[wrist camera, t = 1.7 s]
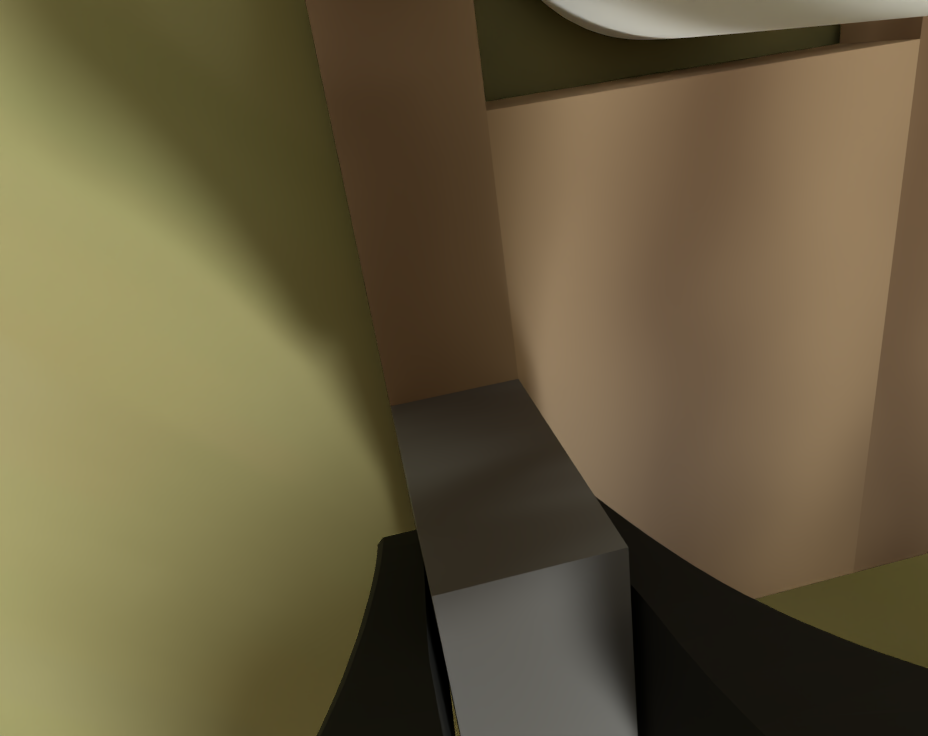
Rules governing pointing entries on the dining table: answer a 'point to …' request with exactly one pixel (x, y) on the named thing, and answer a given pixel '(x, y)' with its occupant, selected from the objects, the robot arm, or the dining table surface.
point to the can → (724, 15)
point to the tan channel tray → (634, 332)
